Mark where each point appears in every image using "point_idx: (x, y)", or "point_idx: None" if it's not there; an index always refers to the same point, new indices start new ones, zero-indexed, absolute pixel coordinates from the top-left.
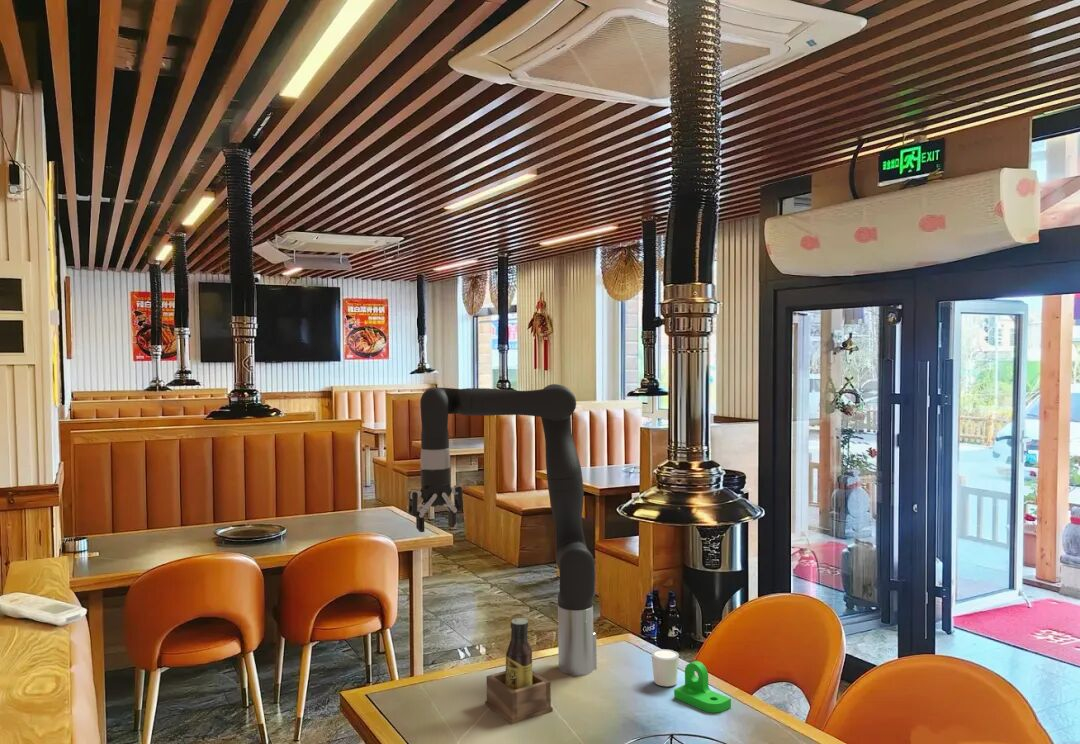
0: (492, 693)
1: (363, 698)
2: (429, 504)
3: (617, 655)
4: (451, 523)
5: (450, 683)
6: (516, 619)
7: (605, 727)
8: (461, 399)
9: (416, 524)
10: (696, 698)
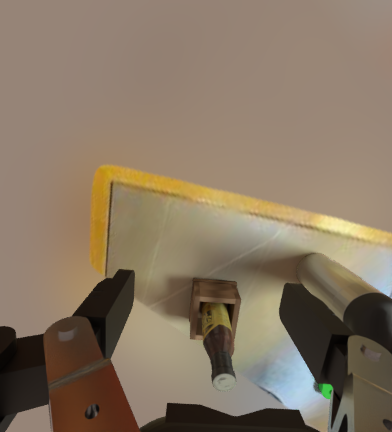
0: (193, 298)
1: (105, 189)
2: None
3: (366, 274)
4: (287, 322)
5: (195, 218)
6: (225, 377)
7: (242, 361)
8: None
9: (90, 294)
10: (323, 384)
